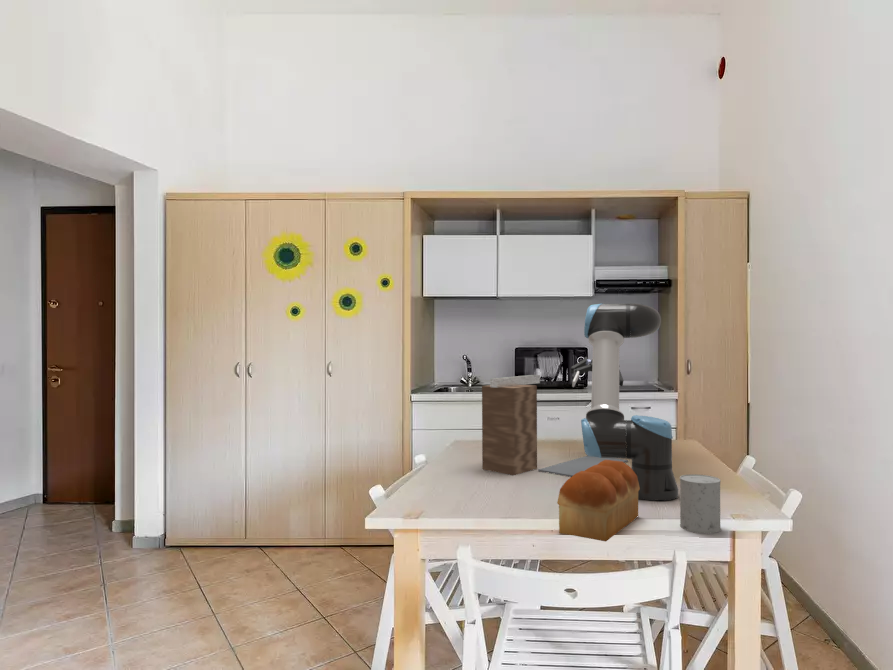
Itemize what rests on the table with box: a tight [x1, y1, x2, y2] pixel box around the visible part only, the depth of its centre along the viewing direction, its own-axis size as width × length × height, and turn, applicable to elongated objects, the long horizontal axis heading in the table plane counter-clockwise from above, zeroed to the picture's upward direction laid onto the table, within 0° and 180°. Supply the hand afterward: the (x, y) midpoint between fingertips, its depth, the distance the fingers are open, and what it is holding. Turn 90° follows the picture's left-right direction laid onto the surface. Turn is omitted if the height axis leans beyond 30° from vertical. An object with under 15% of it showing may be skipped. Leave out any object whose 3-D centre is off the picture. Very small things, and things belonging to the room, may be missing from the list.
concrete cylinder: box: [679, 473, 722, 535], centre depth 159 cm, size 10×10×12 cm
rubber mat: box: [537, 455, 629, 477], centre depth 232 cm, size 36×16×1 cm, turn 137°
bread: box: [556, 460, 640, 542], centre depth 162 cm, size 25×12×15 cm, turn 146°
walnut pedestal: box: [481, 384, 538, 476], centre depth 228 cm, size 14×14×30 cm
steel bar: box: [489, 374, 541, 388], centre depth 231 cm, size 26×3×3 cm, turn 137°
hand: (591, 388), depth 237 cm, fingers open, 13 cm apart
